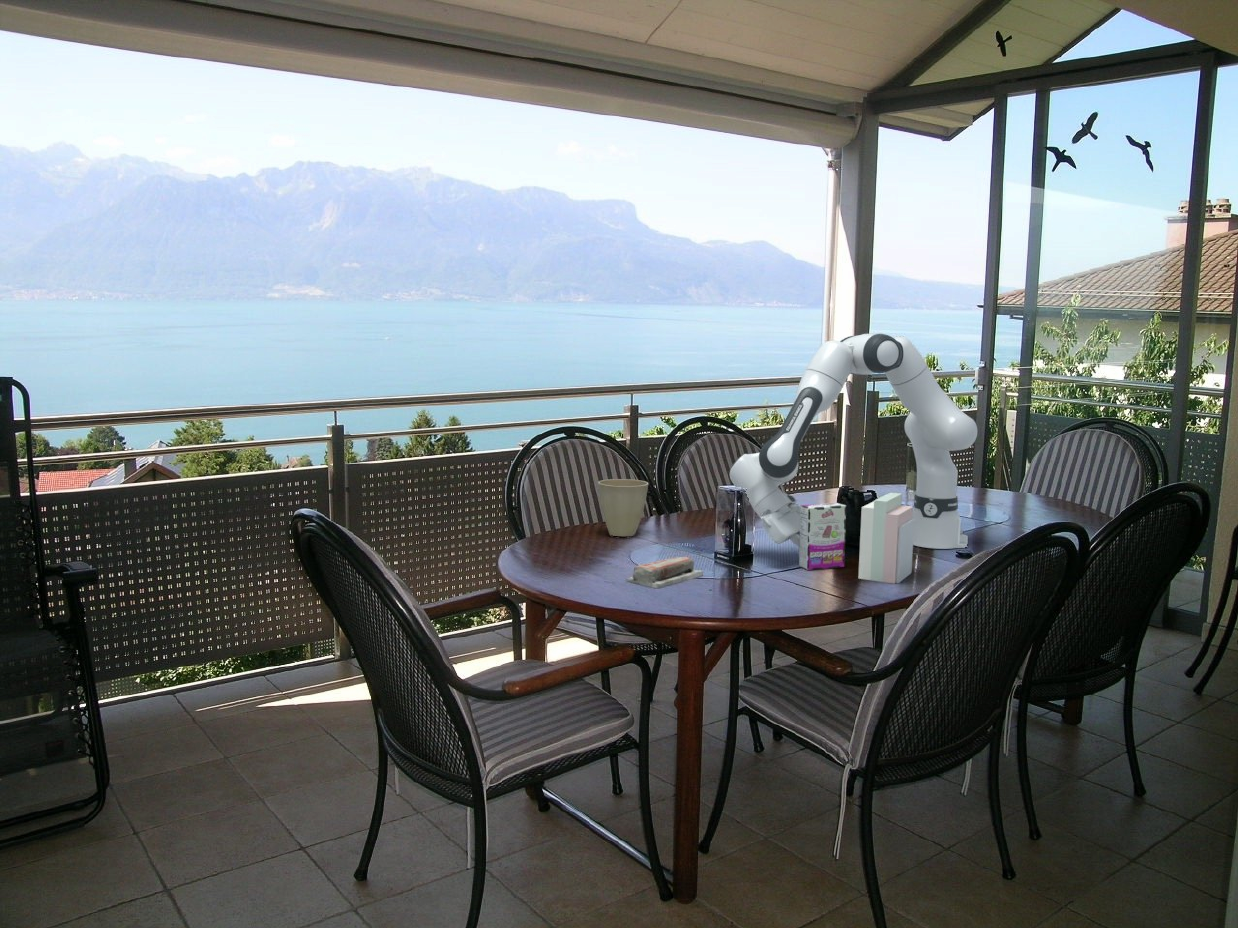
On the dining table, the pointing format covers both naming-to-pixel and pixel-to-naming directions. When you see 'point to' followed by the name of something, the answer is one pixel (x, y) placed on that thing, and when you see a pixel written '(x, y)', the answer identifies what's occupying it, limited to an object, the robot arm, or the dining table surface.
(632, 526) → the plant pot
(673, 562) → the packaged product
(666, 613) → the dining table surface
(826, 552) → the candy bar box
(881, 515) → the book row
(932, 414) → the robot arm
